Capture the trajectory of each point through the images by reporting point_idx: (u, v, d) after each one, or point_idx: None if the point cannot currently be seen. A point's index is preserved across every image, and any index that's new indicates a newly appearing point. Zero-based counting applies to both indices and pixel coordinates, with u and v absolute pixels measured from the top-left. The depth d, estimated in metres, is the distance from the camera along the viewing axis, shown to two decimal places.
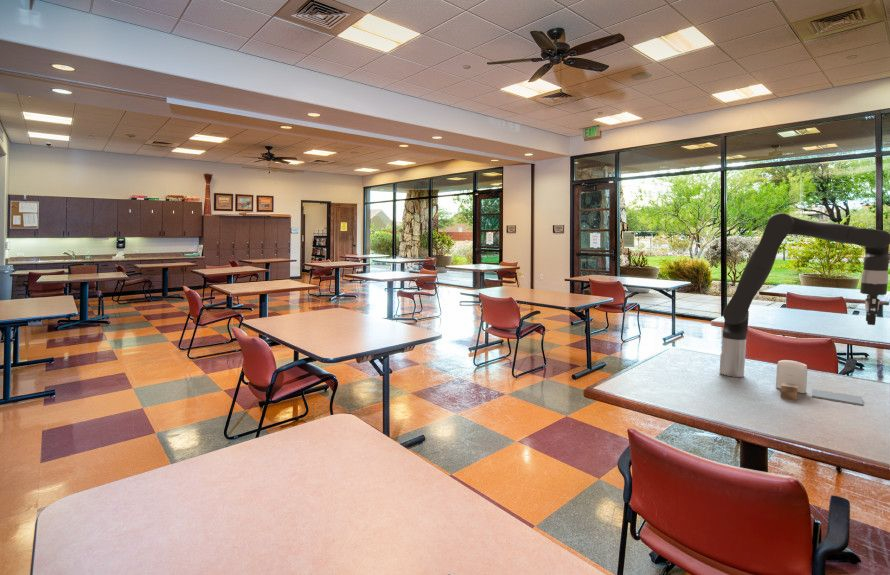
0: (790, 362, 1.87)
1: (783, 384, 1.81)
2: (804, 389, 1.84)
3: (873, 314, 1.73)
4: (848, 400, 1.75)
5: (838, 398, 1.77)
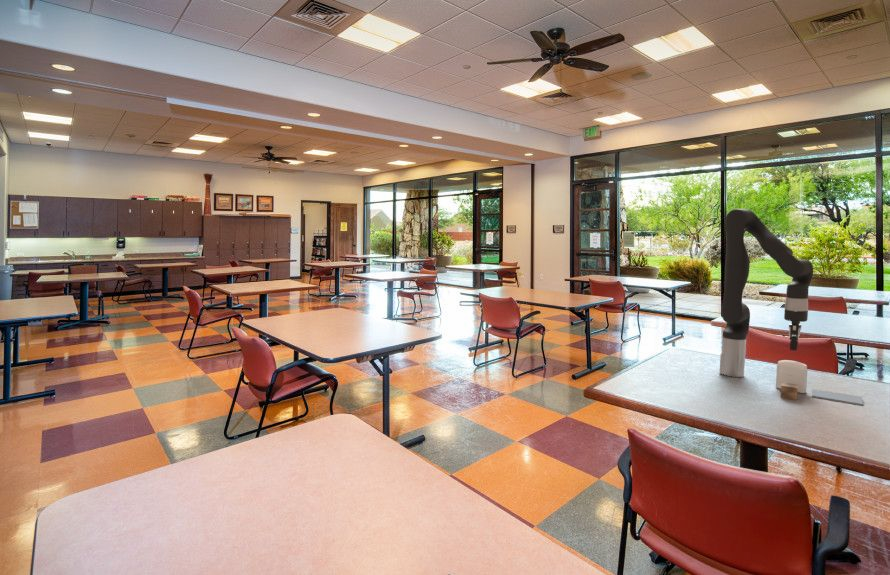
0: (790, 362, 1.87)
1: (783, 384, 1.81)
2: (804, 389, 1.84)
3: (794, 340, 1.81)
4: (848, 400, 1.75)
5: (838, 398, 1.77)
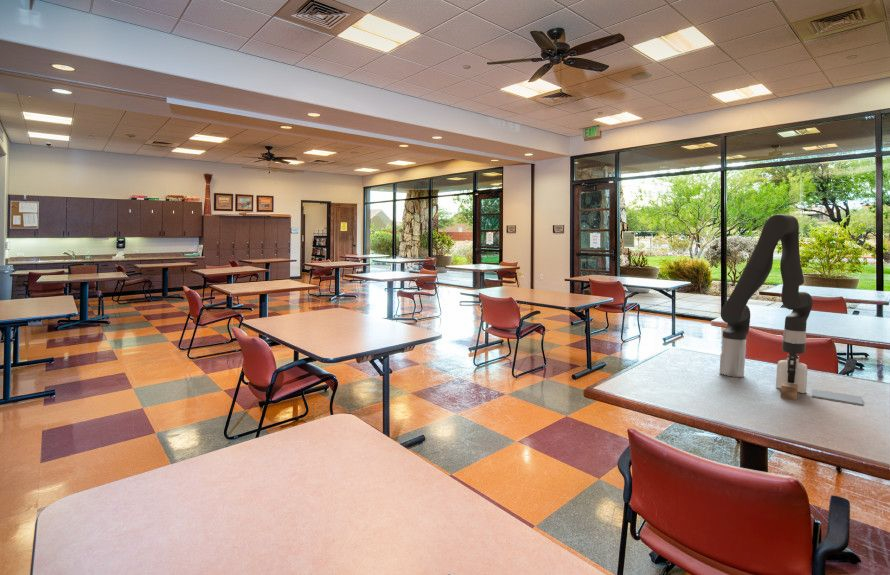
0: None
1: (783, 384, 1.81)
2: (804, 389, 1.84)
3: (792, 373, 1.84)
4: (848, 400, 1.75)
5: (838, 398, 1.77)
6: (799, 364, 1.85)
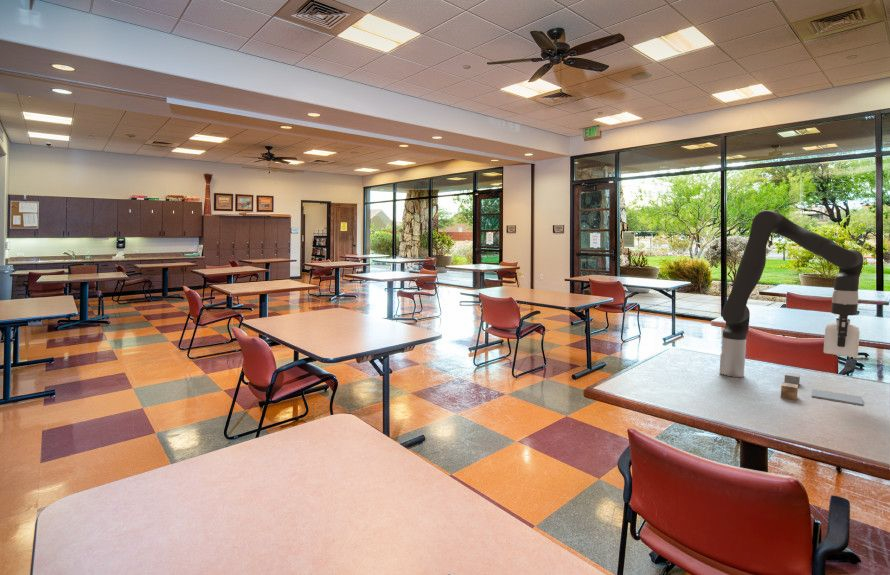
0: None
1: (783, 384, 1.81)
2: (856, 353, 1.73)
3: (842, 336, 1.73)
4: (848, 400, 1.75)
5: (838, 398, 1.77)
6: (850, 326, 1.74)
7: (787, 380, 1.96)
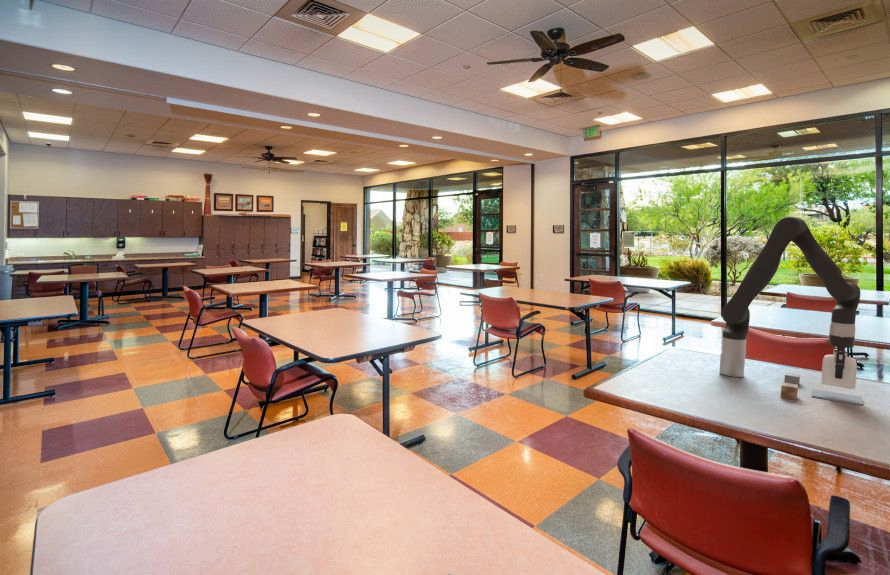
0: None
1: (783, 384, 1.81)
2: (853, 385, 1.75)
3: (840, 368, 1.75)
4: (848, 400, 1.75)
5: (838, 398, 1.77)
6: (848, 359, 1.75)
7: (787, 380, 1.96)
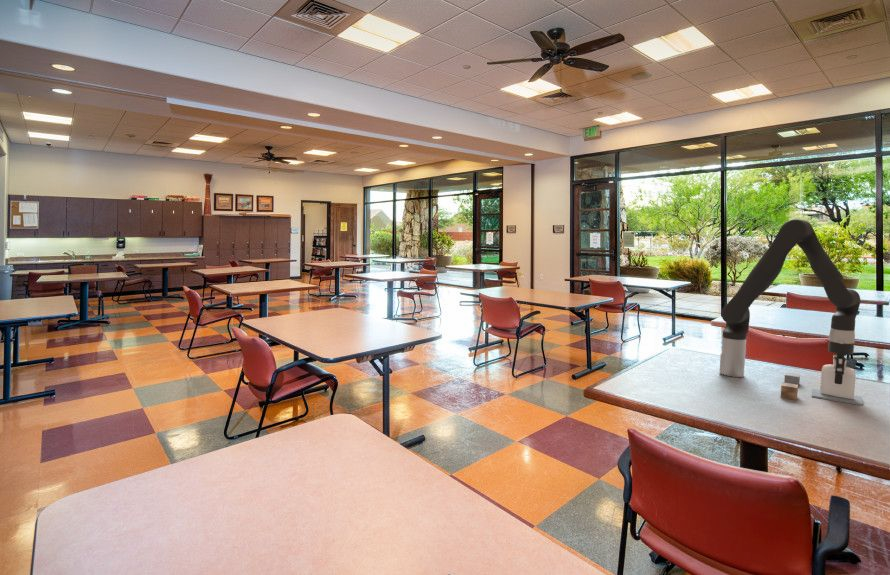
0: None
1: (783, 384, 1.81)
2: (852, 395, 1.75)
3: (840, 374, 1.74)
4: (848, 400, 1.75)
5: (838, 398, 1.77)
6: (847, 369, 1.76)
7: (787, 380, 1.96)
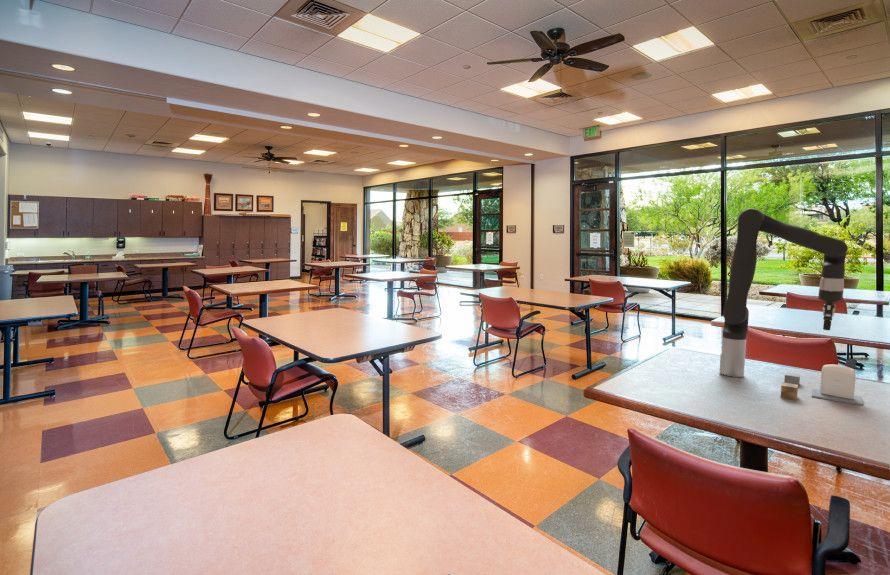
0: (837, 366, 1.78)
1: (783, 384, 1.81)
2: (852, 395, 1.75)
3: (828, 320, 1.82)
4: (848, 400, 1.75)
5: (838, 398, 1.77)
6: (847, 369, 1.76)
7: (787, 380, 1.96)
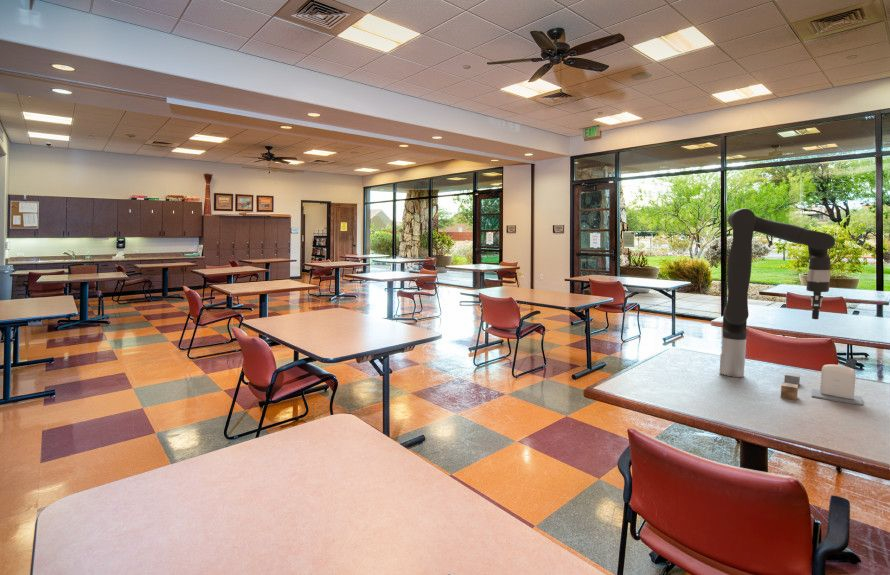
0: (837, 366, 1.78)
1: (783, 384, 1.81)
2: (852, 395, 1.75)
3: (816, 309, 1.92)
4: (848, 400, 1.75)
5: (838, 398, 1.77)
6: (847, 369, 1.76)
7: (787, 380, 1.96)
